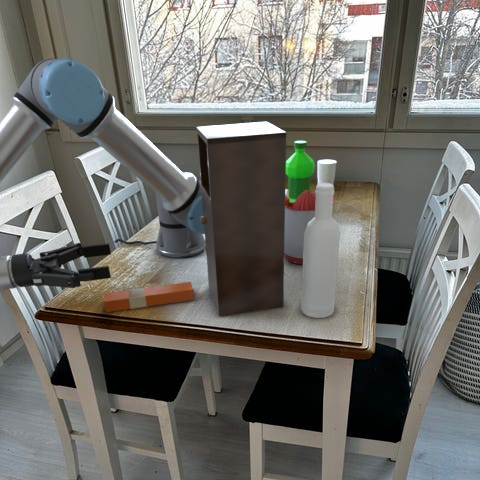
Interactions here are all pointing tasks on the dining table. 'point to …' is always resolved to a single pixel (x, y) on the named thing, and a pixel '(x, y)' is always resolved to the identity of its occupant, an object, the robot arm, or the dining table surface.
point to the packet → (148, 296)
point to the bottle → (320, 257)
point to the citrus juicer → (298, 224)
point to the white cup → (326, 171)
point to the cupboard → (243, 214)
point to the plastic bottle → (299, 171)
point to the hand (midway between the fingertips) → (110, 259)
